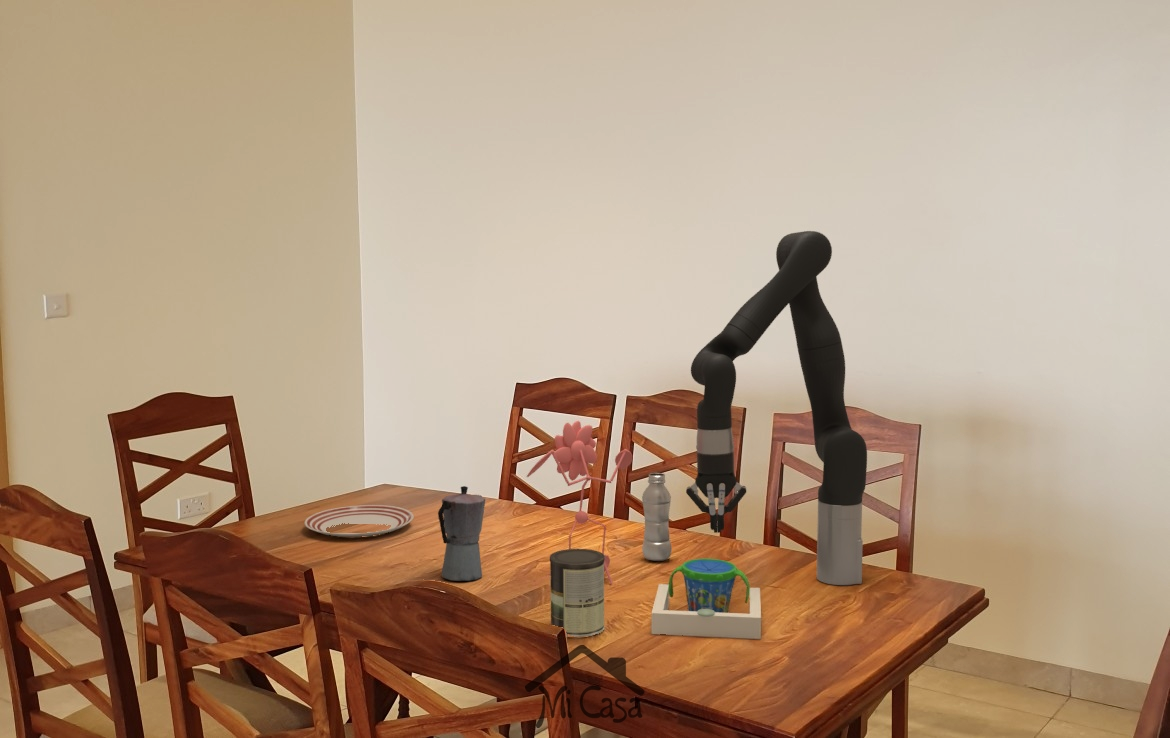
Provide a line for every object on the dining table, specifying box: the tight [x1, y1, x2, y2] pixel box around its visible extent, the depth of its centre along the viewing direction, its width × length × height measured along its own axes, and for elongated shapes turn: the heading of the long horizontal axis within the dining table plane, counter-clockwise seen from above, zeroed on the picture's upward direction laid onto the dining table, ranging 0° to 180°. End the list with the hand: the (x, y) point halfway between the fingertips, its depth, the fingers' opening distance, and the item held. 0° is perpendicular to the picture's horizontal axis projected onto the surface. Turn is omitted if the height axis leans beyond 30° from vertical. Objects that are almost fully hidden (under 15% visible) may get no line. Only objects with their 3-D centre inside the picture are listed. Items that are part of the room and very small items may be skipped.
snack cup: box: [668, 558, 751, 613], centre depth 212 cm, size 16×10×10 cm
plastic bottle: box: [641, 472, 672, 562], centre depth 250 cm, size 6×7×20 cm
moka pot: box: [437, 485, 486, 582], centre depth 238 cm, size 10×15×20 cm, turn 155°
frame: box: [650, 583, 762, 640], centre depth 210 cm, size 20×19×4 cm
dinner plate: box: [304, 504, 415, 538], centre depth 281 cm, size 27×27×3 cm
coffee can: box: [549, 548, 606, 639], centre depth 205 cm, size 10×10×14 cm
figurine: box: [526, 420, 635, 586], centre depth 233 cm, size 15×26×35 cm, turn 131°
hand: (717, 531), depth 227 cm, fingers closed
